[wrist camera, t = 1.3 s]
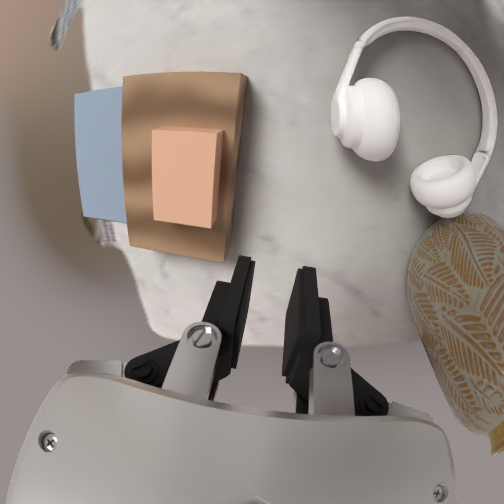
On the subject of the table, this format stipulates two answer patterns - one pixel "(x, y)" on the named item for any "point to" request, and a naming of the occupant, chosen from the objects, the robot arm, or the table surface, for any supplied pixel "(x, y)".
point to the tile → (186, 174)
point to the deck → (179, 115)
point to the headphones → (388, 122)
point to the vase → (463, 317)
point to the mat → (100, 153)
